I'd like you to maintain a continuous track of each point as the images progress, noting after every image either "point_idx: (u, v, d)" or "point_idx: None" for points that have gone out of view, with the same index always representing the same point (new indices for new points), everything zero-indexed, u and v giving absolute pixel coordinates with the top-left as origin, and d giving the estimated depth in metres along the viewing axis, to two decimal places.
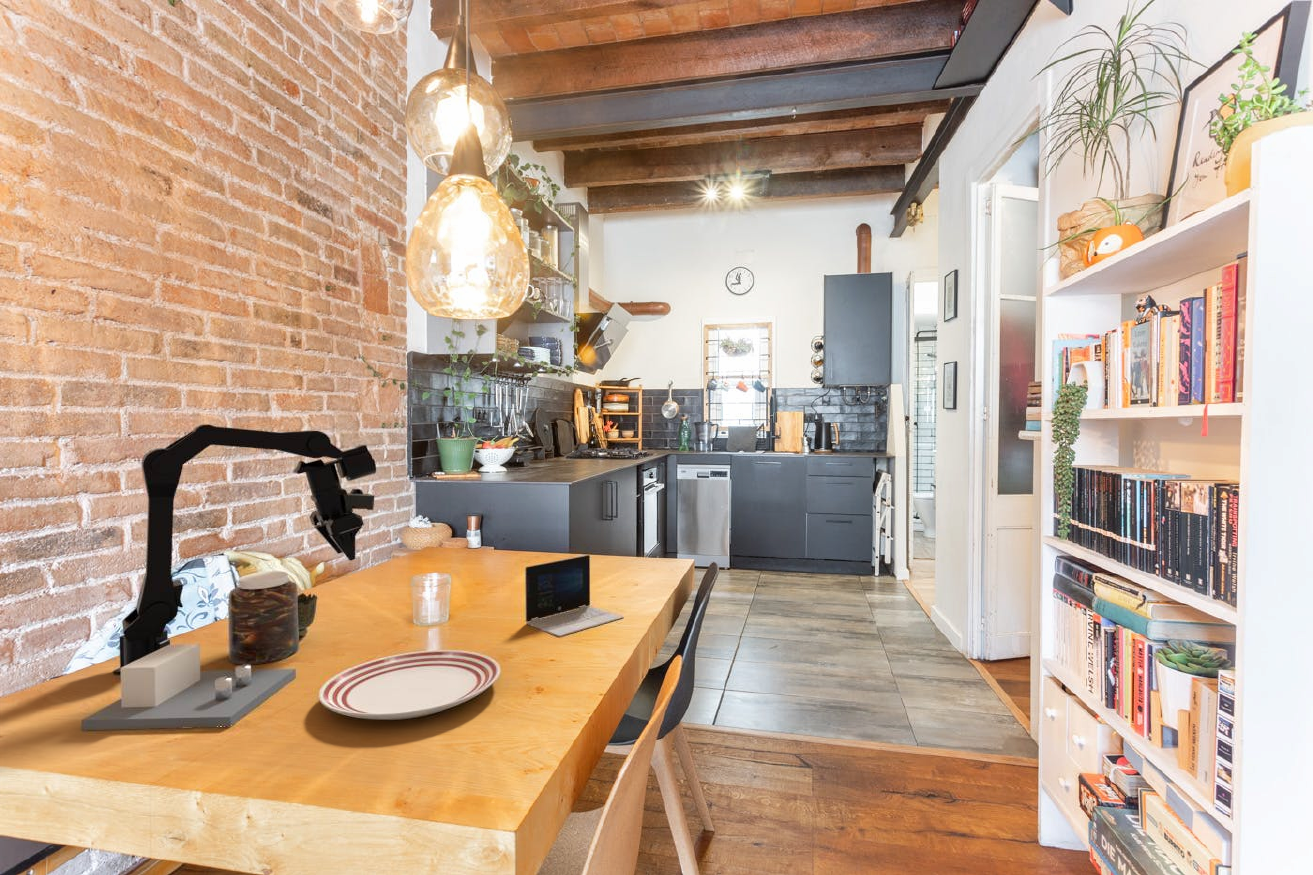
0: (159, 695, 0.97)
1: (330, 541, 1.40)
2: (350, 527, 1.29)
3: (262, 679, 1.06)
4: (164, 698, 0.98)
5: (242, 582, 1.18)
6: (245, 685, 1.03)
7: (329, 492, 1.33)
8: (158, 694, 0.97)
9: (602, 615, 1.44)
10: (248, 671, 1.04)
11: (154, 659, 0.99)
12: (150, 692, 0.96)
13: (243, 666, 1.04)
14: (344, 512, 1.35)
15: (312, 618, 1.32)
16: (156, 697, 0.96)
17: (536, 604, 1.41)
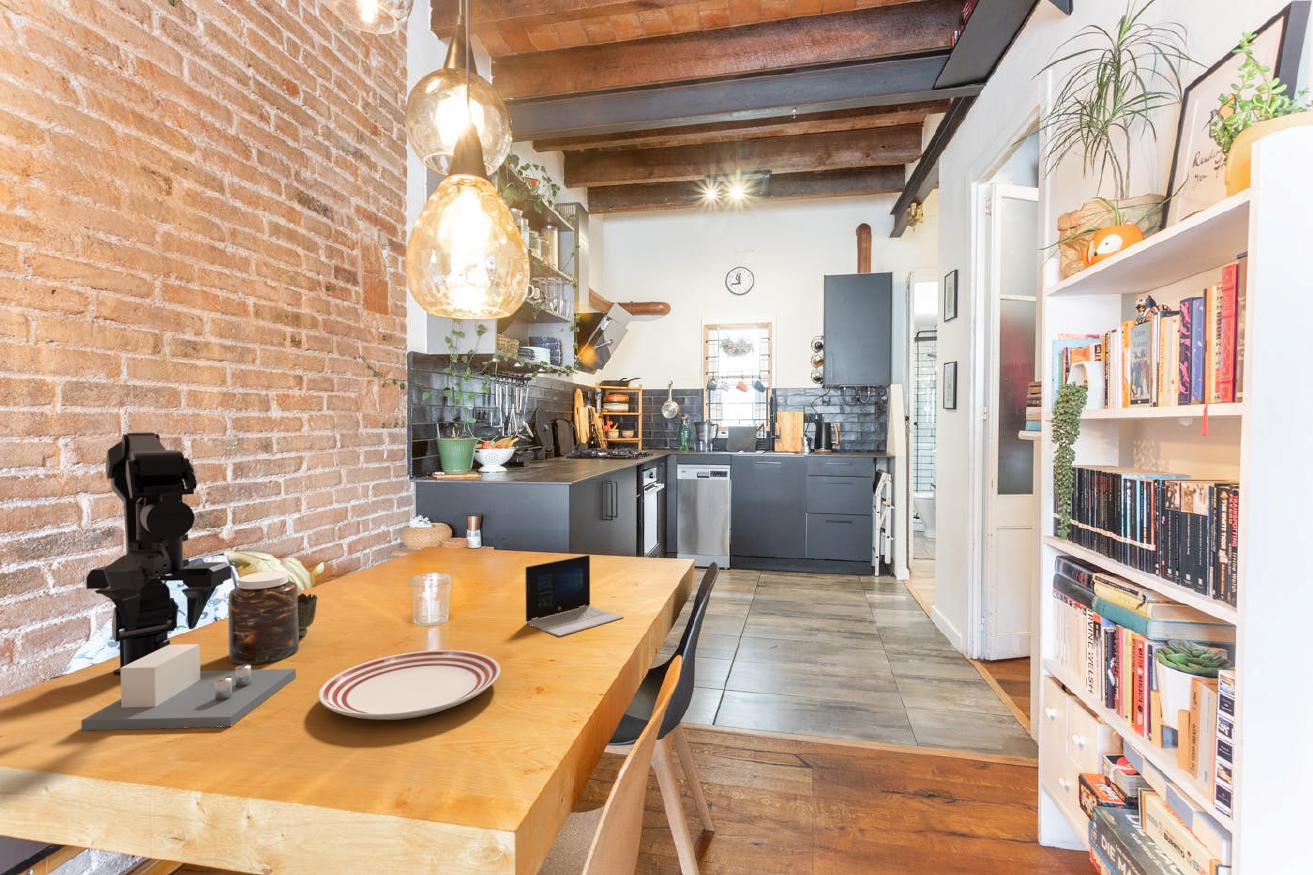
0: (159, 695, 0.97)
1: None
2: None
3: (262, 679, 1.06)
4: (164, 698, 0.98)
5: (242, 582, 1.18)
6: (245, 685, 1.03)
7: None
8: (158, 694, 0.97)
9: (602, 615, 1.44)
10: (248, 671, 1.04)
11: (154, 659, 0.99)
12: (150, 692, 0.96)
13: (243, 666, 1.04)
14: None
15: (312, 618, 1.32)
16: (156, 697, 0.96)
17: (536, 604, 1.41)
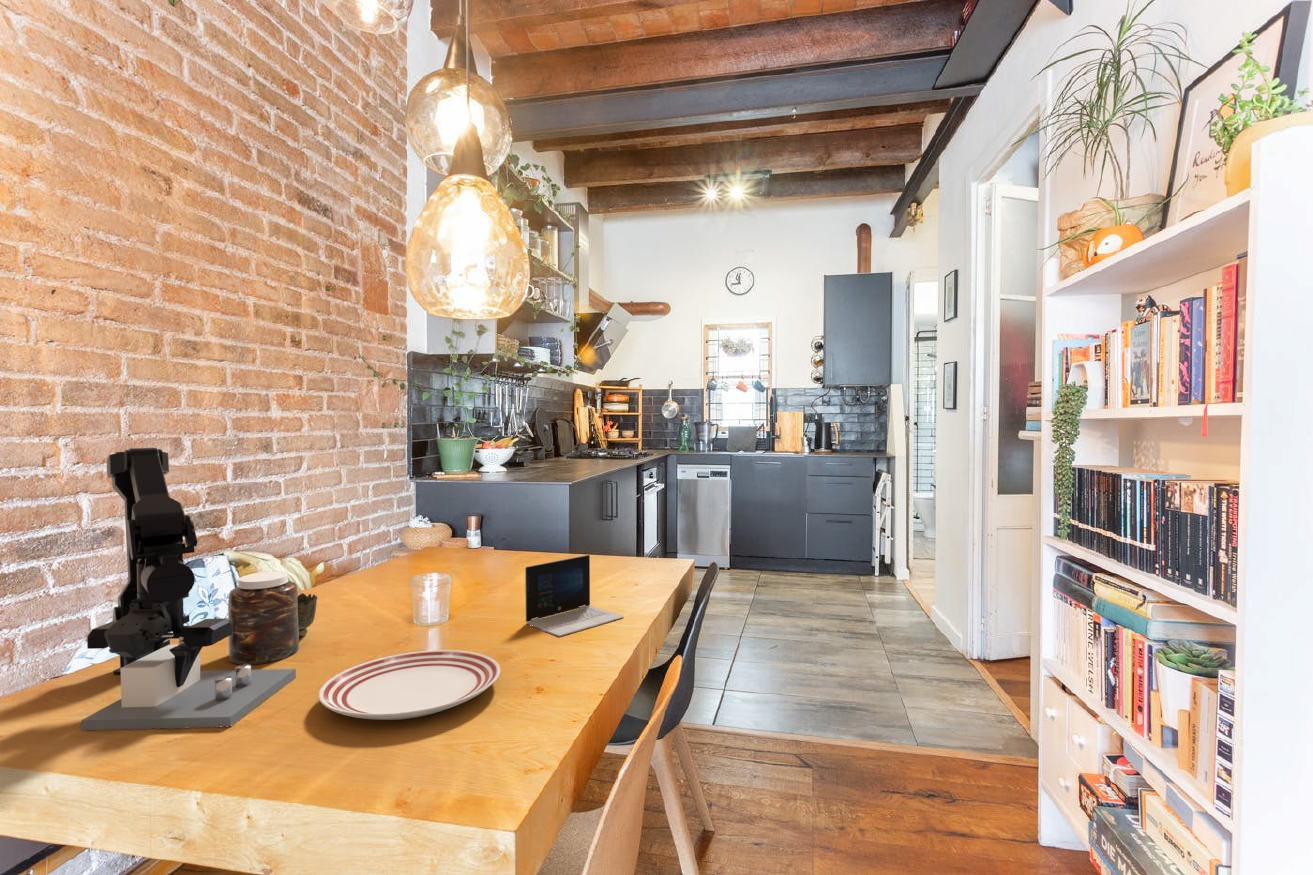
0: (159, 695, 0.97)
1: None
2: None
3: (262, 679, 1.06)
4: (164, 698, 0.98)
5: (242, 582, 1.18)
6: (245, 685, 1.03)
7: None
8: (158, 694, 0.97)
9: (602, 615, 1.44)
10: (248, 671, 1.04)
11: (153, 659, 0.99)
12: (150, 693, 0.96)
13: (243, 666, 1.04)
14: None
15: (312, 618, 1.32)
16: (156, 697, 0.96)
17: (535, 604, 1.41)
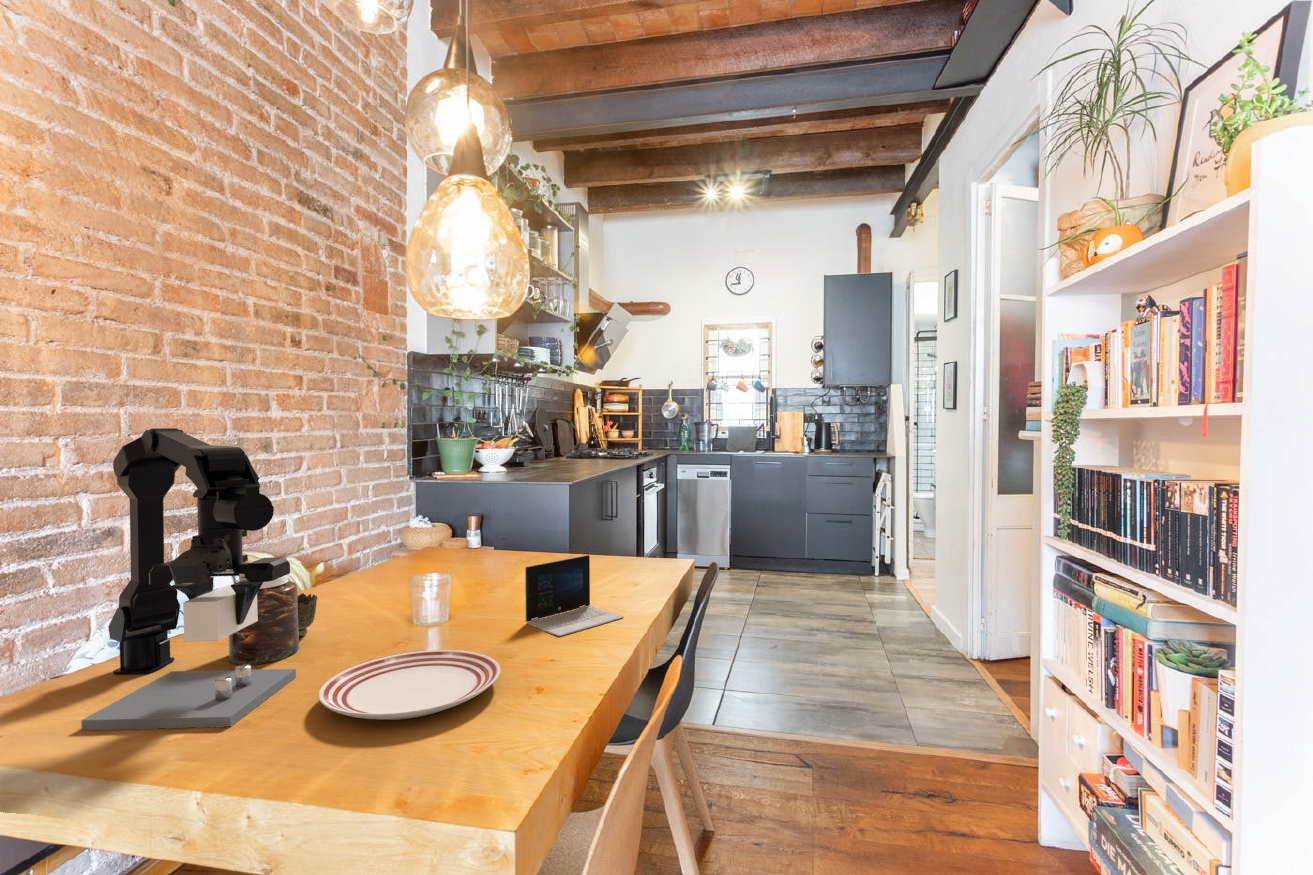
0: (221, 630, 0.97)
1: None
2: None
3: (262, 679, 1.06)
4: (225, 634, 0.98)
5: None
6: (245, 685, 1.03)
7: None
8: (220, 629, 0.96)
9: (602, 615, 1.44)
10: (248, 671, 1.04)
11: (214, 596, 0.99)
12: (213, 627, 0.96)
13: (243, 666, 1.04)
14: None
15: (312, 618, 1.32)
16: (218, 632, 0.96)
17: (535, 604, 1.41)
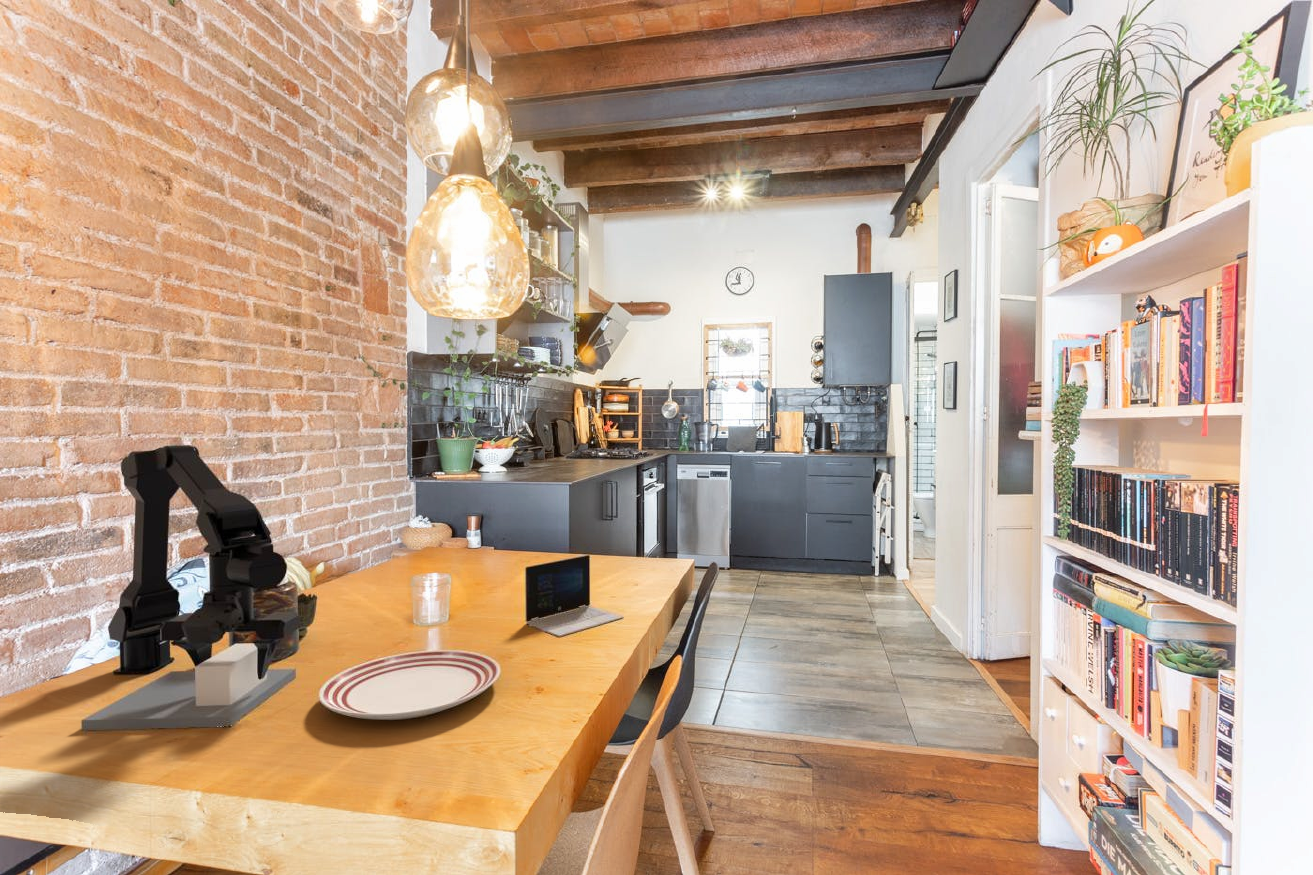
0: (233, 694, 0.97)
1: None
2: None
3: None
4: (237, 697, 0.98)
5: None
6: None
7: None
8: (232, 693, 0.97)
9: (602, 615, 1.44)
10: None
11: (225, 658, 0.99)
12: (224, 691, 0.96)
13: None
14: None
15: (312, 618, 1.32)
16: (230, 696, 0.97)
17: (535, 604, 1.41)
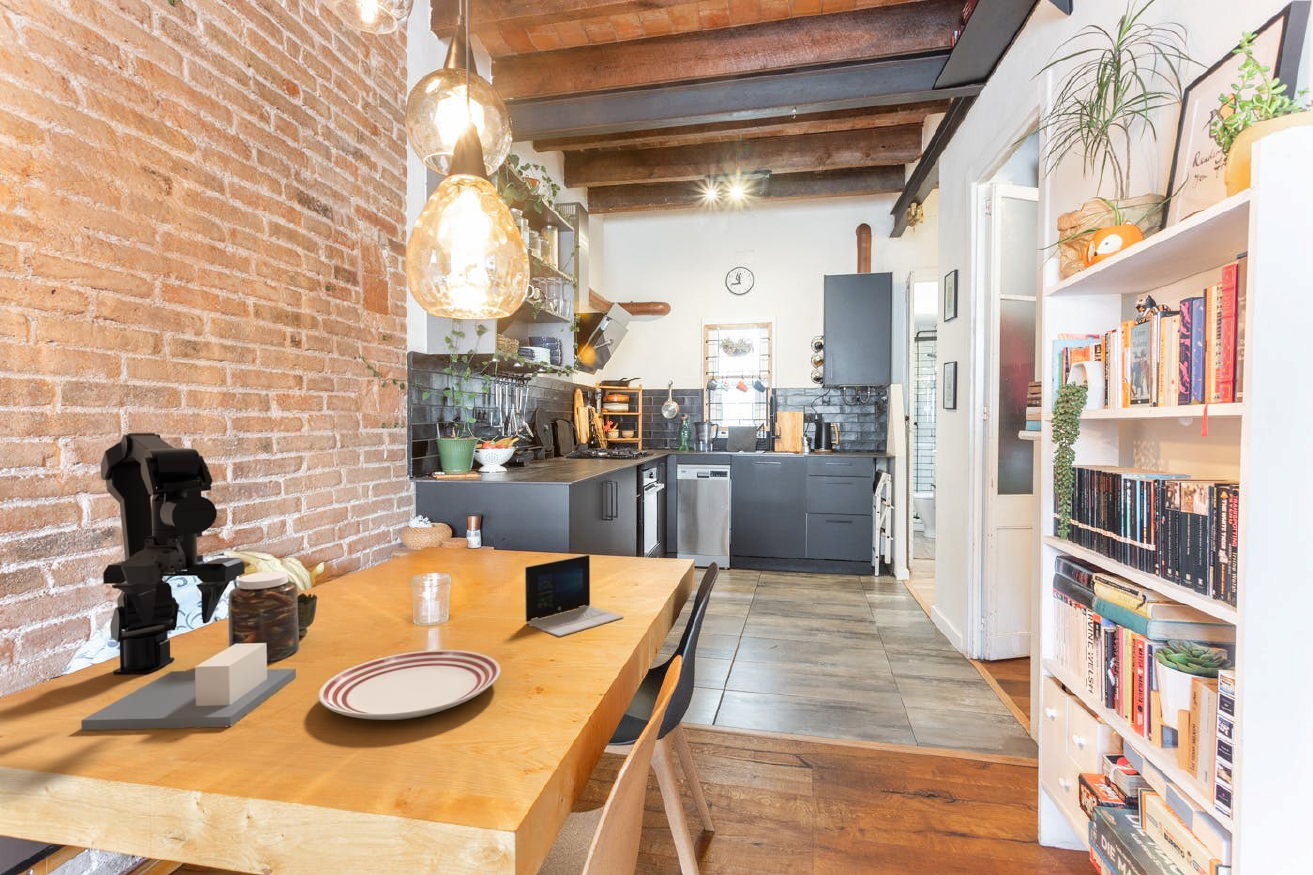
0: (233, 694, 0.97)
1: None
2: None
3: None
4: (237, 697, 0.98)
5: (242, 582, 1.18)
6: None
7: None
8: (232, 693, 0.97)
9: (602, 615, 1.44)
10: None
11: (225, 658, 0.99)
12: (224, 691, 0.96)
13: None
14: None
15: (312, 618, 1.32)
16: (230, 696, 0.97)
17: (535, 604, 1.41)
